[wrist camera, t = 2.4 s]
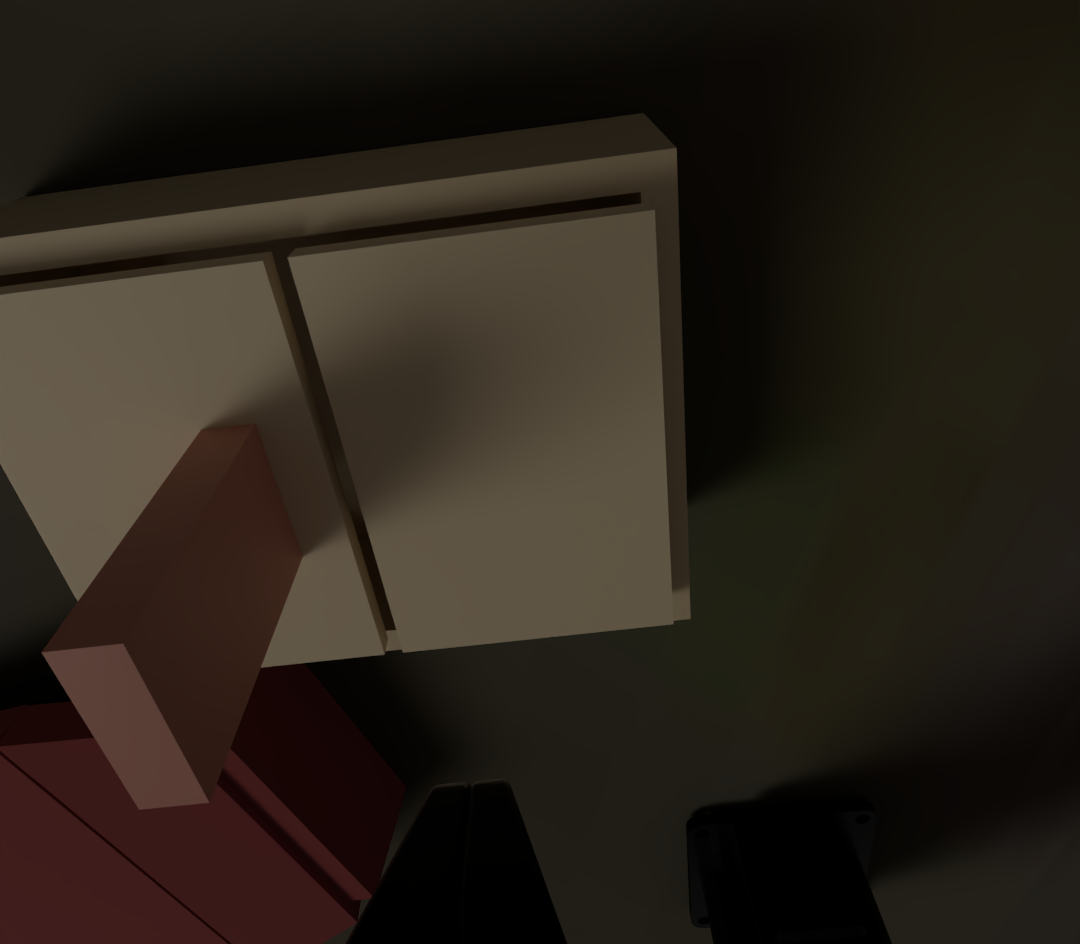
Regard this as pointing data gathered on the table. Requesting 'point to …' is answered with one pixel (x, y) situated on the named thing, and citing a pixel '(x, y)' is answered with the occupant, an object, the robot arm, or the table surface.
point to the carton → (195, 830)
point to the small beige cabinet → (372, 212)
